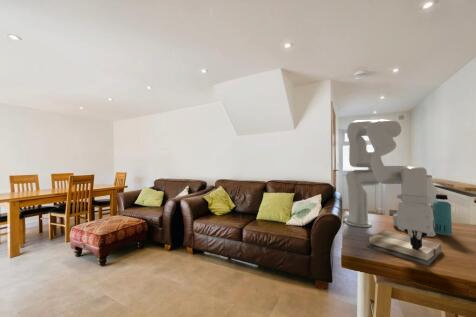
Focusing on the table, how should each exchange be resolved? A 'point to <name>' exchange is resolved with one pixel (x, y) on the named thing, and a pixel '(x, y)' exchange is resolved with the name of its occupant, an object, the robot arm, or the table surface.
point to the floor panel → (426, 262)
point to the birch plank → (401, 246)
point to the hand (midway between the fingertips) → (416, 248)
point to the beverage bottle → (442, 216)
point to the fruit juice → (431, 191)
